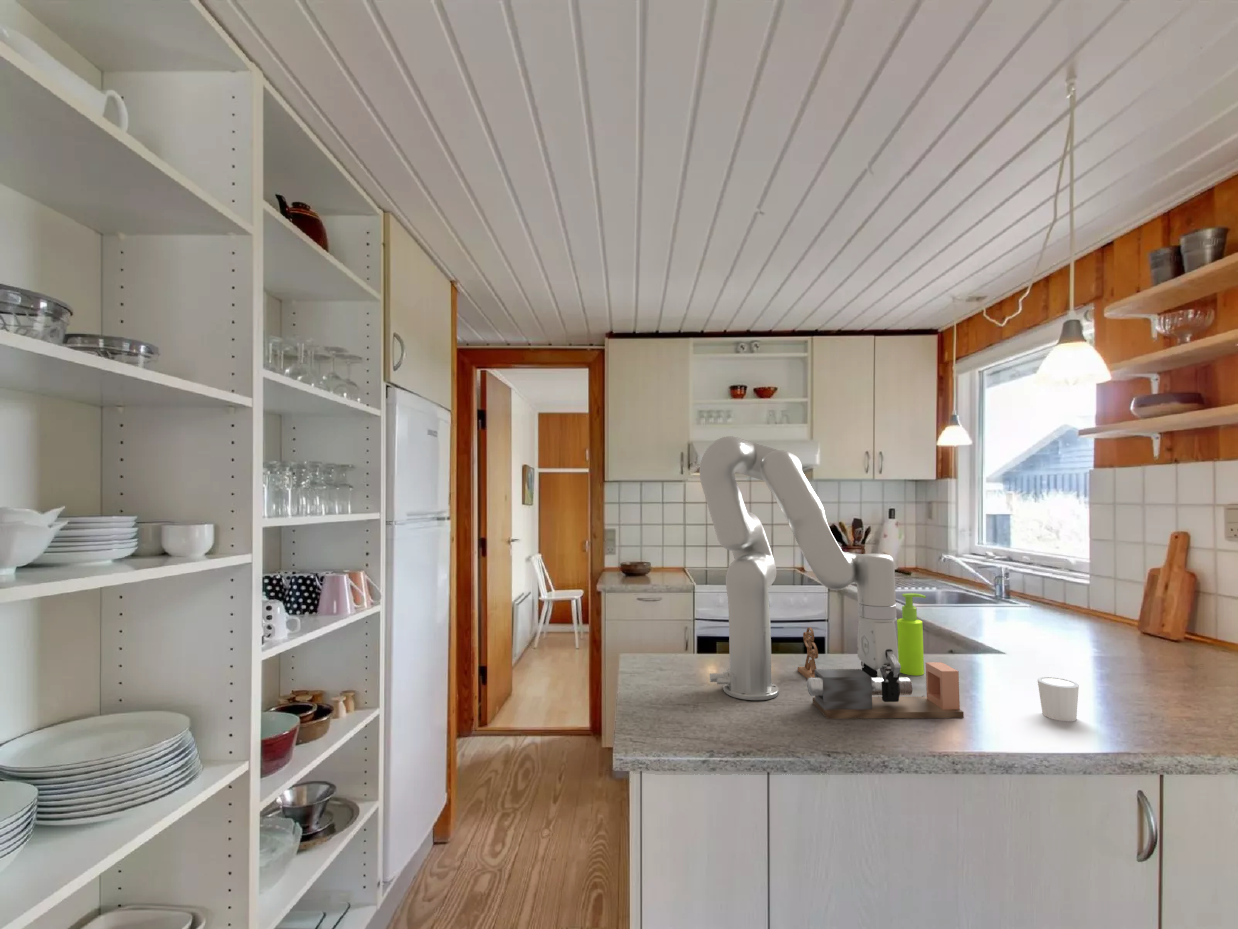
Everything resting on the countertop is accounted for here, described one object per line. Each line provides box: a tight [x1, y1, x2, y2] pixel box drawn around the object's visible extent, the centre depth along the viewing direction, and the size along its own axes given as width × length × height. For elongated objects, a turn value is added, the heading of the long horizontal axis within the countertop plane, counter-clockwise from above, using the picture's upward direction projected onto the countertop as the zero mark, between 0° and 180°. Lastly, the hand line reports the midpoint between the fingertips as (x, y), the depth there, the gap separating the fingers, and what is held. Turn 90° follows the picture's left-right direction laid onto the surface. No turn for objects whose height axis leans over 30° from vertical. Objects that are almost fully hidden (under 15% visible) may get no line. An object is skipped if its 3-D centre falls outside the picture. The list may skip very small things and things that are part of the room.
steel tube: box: [806, 672, 913, 697], centre depth 125 cm, size 21×5×5 cm, turn 90°
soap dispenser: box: [896, 592, 927, 676], centre depth 151 cm, size 6×7×20 cm
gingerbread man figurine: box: [797, 627, 819, 680], centre depth 149 cm, size 9×4×12 cm, turn 4°
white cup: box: [1037, 676, 1080, 722], centre depth 121 cm, size 7×7×7 cm
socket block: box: [925, 661, 961, 710], centre depth 125 cm, size 4×6×8 cm, turn 0°
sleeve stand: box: [812, 668, 965, 720], centre depth 125 cm, size 28×9×8 cm, turn 90°
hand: (879, 693), depth 125 cm, fingers open, 9 cm apart
